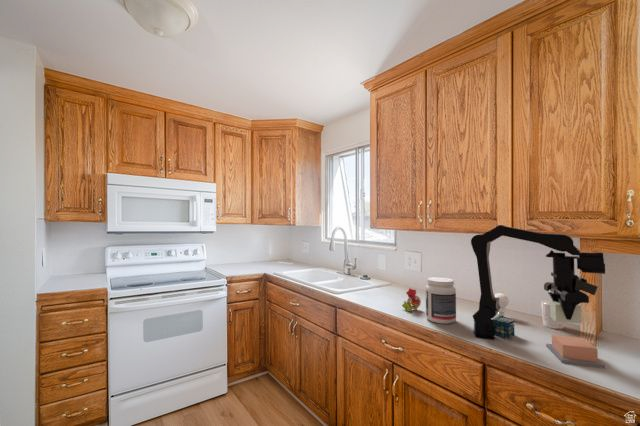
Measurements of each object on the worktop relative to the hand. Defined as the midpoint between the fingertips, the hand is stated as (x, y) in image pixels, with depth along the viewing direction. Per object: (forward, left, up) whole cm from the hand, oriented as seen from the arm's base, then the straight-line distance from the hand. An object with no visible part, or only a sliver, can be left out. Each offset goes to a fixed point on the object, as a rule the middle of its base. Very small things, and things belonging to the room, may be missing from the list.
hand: (565, 317), depth 101 cm
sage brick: (0, 0, -1) cm, 1 cm away
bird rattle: (-51, +34, -13) cm, 63 cm away
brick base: (+2, -1, -12) cm, 13 cm away
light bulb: (-11, +38, -13) cm, 42 cm away
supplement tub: (-38, +23, -13) cm, 46 cm away
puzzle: (-16, +13, -13) cm, 24 cm away
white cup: (+7, +31, -13) cm, 34 cm away
